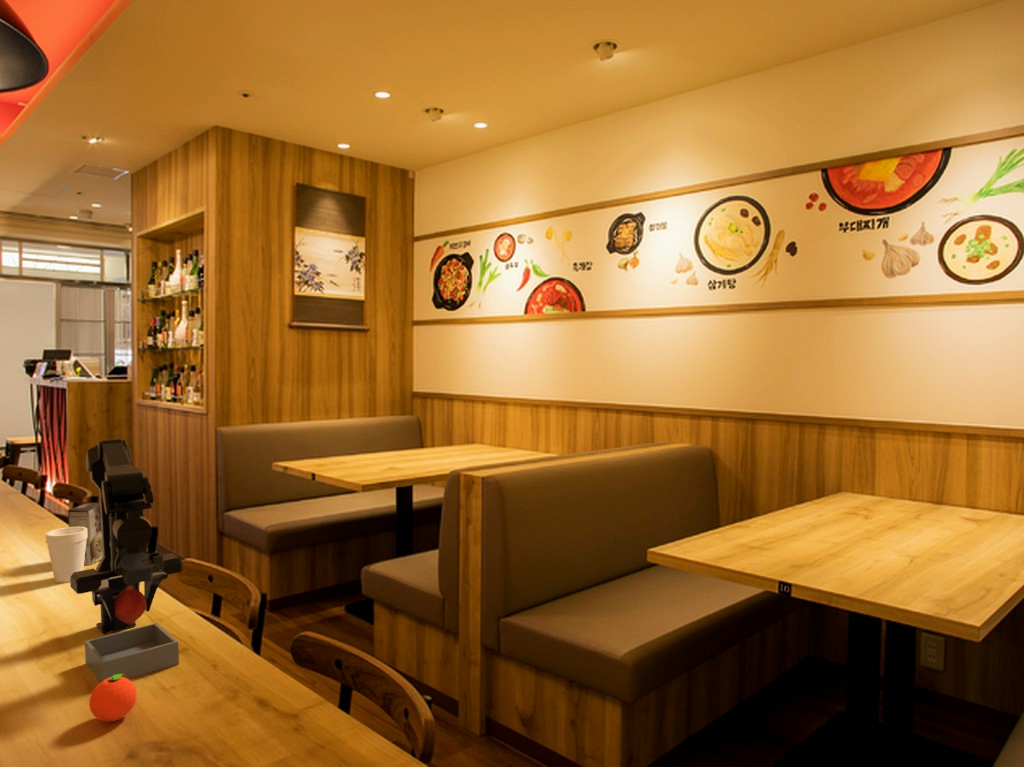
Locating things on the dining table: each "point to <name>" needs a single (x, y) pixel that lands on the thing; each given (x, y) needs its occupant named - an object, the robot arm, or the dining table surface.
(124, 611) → the onion
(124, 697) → the clementine
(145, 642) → the bin
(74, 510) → the coffee box
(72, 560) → the foam cup
